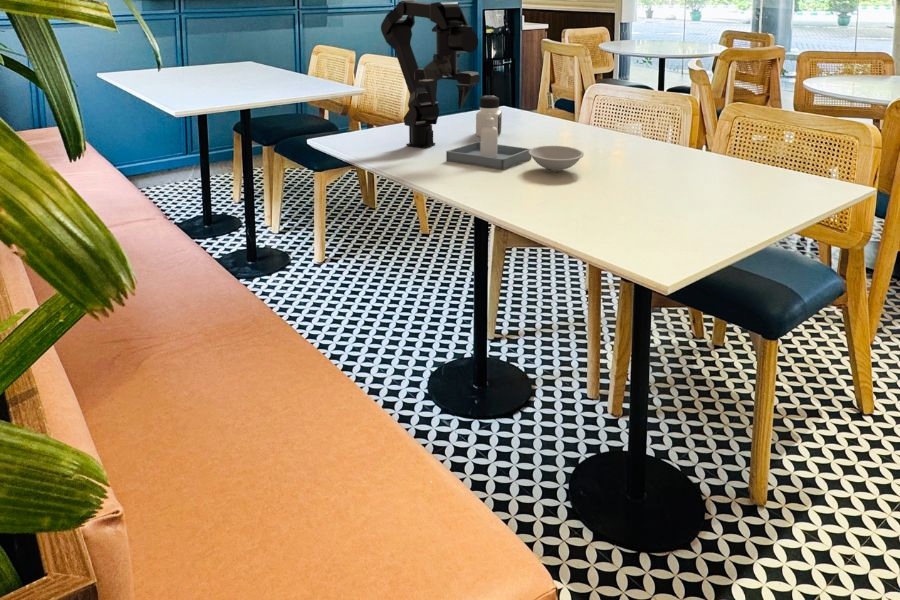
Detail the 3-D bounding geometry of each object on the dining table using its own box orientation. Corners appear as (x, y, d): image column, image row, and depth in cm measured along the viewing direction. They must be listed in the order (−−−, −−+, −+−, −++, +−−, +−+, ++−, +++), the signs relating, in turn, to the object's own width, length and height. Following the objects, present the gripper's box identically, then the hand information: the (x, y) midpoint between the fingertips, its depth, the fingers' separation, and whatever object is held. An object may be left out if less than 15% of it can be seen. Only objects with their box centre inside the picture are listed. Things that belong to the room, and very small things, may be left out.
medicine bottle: (498, 137, 260) (499, 98, 255) (475, 136, 261) (476, 97, 257) (501, 133, 266) (502, 95, 262) (479, 132, 268) (480, 94, 263)
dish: (525, 163, 227) (526, 145, 225) (577, 163, 227) (579, 145, 225) (530, 179, 211) (531, 159, 209) (587, 179, 210) (588, 160, 209)
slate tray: (446, 161, 229) (446, 151, 228) (477, 151, 241) (477, 141, 240) (502, 170, 219) (502, 159, 218) (531, 158, 232) (531, 149, 231)
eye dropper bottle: (476, 156, 231) (477, 112, 226) (494, 154, 233) (495, 111, 228) (482, 159, 227) (483, 115, 223) (501, 157, 229) (502, 114, 224)
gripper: (402, 50, 226) (403, 108, 232) (459, 54, 217) (458, 114, 223) (425, 47, 235) (426, 102, 241) (481, 50, 225) (480, 108, 231)
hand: (446, 107), depth 234 cm, fingers open, 9 cm apart
